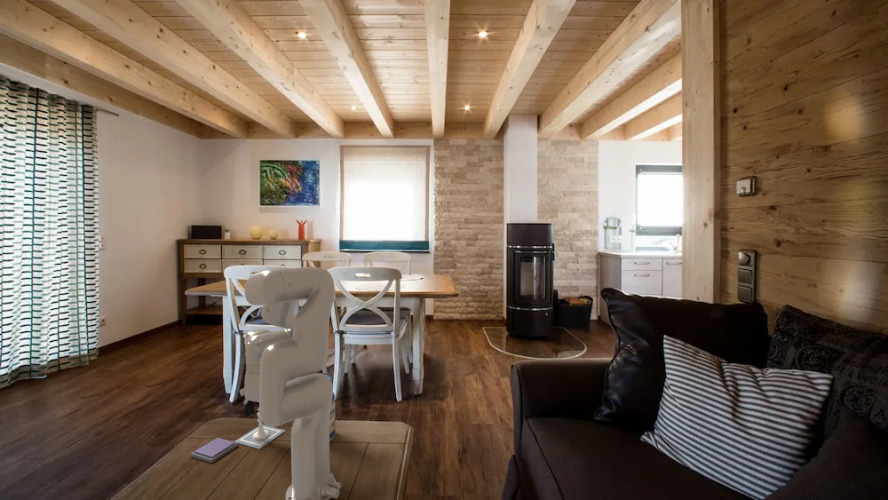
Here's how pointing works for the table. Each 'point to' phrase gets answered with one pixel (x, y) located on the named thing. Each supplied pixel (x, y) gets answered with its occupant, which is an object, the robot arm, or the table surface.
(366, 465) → the table surface
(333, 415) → the beverage bottle
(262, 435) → the chess piece
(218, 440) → the ink pad
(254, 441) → the pale blue flat square
